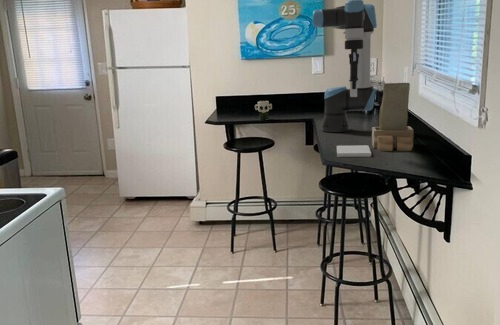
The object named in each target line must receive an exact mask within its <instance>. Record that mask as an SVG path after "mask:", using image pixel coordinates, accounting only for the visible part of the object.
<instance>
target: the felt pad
mask: <svg viewBox="0 0 500 325" xmlns="http://www.w3.org/2000/svg"><path fill="white" fill-rule="evenodd" d="M336 156H337V158H347V157H349V158H351V157H352V158H355V157H356V158H359V157H365V158H369V157H370V158H371V157H372V150H371V148H370V147H369V144H368V145H366V144H365V145H364V144H363V145H360V144H359V145H356V144H355V145H336Z"/></svg>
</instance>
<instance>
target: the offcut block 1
mask: <svg viewBox="0 0 500 325" xmlns="http://www.w3.org/2000/svg"><path fill="white" fill-rule="evenodd" d="M376 149H377V150H378V151H379V152H380V151H383V152H384V151H386V152H388V151H390V152H391V151H393V150H394V148H393V137H392V136H378V147H377V148H376ZM378 151H377V152H378Z"/></svg>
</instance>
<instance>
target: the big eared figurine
mask: <svg viewBox="0 0 500 325" xmlns="http://www.w3.org/2000/svg"><path fill="white" fill-rule="evenodd" d="M272 109H273V104H272V103H270V102H269V100H259V101H257V104H255V105H254V110H255V111H258V112H259V116H258V117H259V118H258V120H259V119H260V120H259V121H267V120H266V119H268V118H269V113H268V112H269V111H270V110H272Z"/></svg>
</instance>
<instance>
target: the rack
mask: <svg viewBox="0 0 500 325" xmlns="http://www.w3.org/2000/svg"><path fill="white" fill-rule="evenodd" d="M401 135H411V137H412V149H413V148H414V129H413V128H412V126H409V125H407V130H380V126H372V127H371V144H372V145H371V146H372V147H373V148H374V149H377V147H378V136H392V137H393V149H396V136H401Z"/></svg>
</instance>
